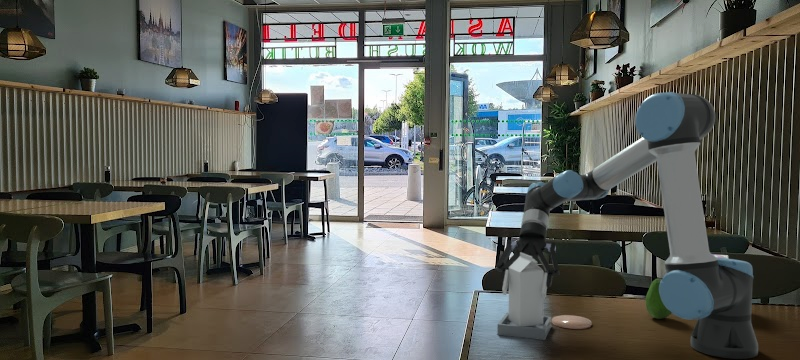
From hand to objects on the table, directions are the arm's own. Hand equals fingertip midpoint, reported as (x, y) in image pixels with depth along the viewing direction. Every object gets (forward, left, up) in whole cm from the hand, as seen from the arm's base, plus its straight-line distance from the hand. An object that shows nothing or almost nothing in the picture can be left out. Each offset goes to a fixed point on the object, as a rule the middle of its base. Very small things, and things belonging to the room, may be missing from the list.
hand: (523, 294), depth 171 cm
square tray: (+2, -3, -11) cm, 11 cm away
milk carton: (+2, -3, -9) cm, 10 cm away
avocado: (-13, -44, -11) cm, 47 cm away
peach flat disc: (-1, -19, -11) cm, 22 cm away
